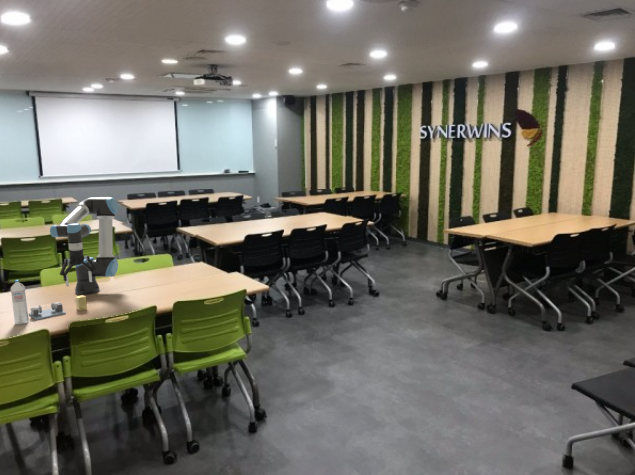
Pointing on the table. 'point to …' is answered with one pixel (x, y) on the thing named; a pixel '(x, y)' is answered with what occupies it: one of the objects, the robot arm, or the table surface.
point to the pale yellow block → (81, 302)
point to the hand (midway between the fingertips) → (79, 283)
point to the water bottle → (19, 303)
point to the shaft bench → (47, 311)
